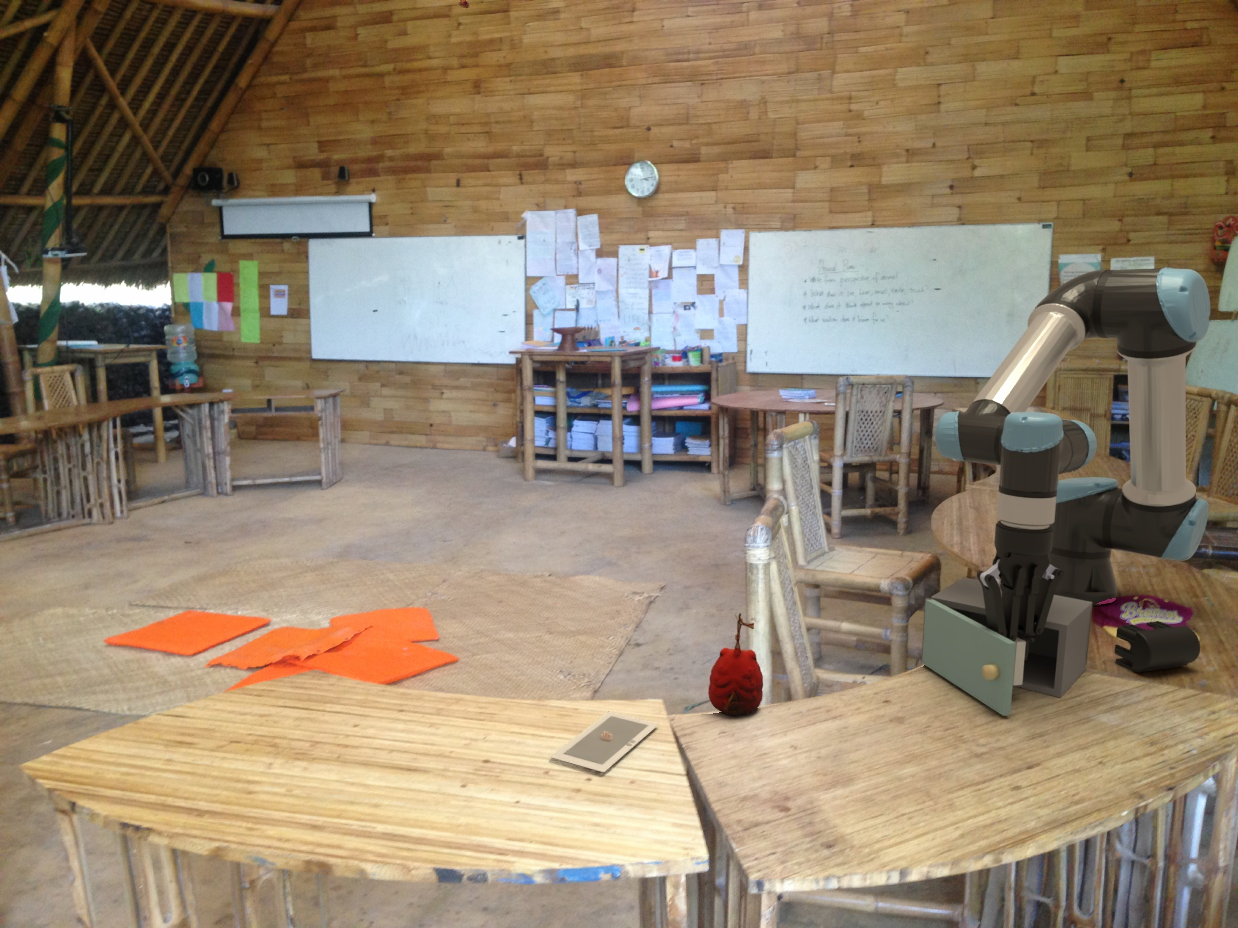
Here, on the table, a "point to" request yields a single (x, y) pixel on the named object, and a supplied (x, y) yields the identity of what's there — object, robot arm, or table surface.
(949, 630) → the pale green rectangular block
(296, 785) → the table surface
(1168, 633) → the end cap
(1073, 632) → the cabinet
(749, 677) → the red clay folk toy
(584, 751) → the touchpad
